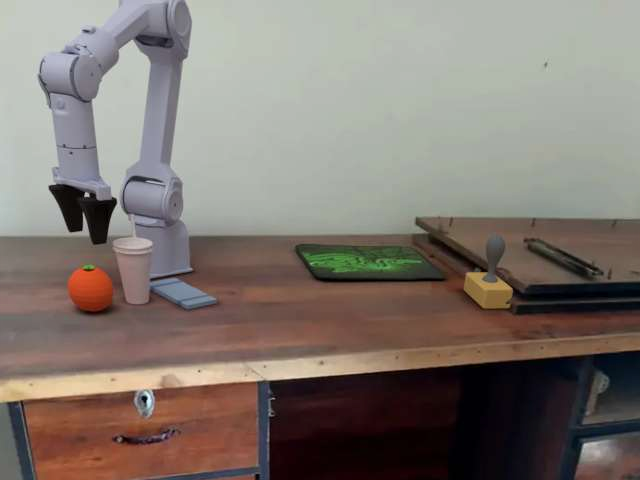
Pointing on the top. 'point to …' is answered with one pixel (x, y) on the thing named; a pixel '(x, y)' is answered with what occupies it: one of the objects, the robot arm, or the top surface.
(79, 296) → the clementine
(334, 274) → the mouse mat
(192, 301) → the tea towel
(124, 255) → the smoothie
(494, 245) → the rubber stamp
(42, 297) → the top surface
